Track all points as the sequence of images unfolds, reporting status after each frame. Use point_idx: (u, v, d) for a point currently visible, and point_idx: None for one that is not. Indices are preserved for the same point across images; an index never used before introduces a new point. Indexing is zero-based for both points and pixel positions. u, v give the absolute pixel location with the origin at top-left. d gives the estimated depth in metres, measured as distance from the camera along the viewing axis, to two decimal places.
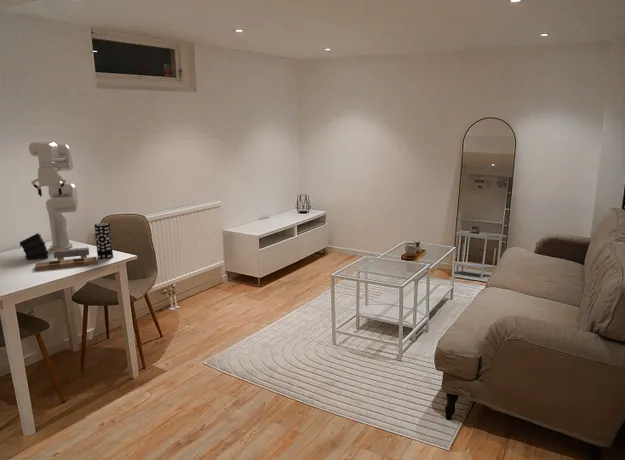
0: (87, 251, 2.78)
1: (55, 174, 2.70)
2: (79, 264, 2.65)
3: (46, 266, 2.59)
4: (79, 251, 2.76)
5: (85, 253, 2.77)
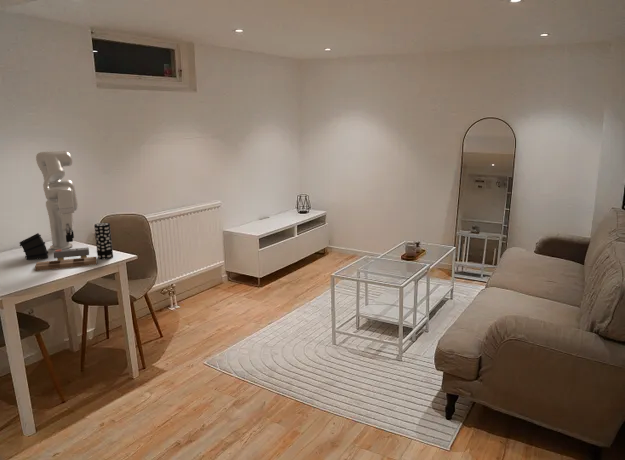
0: (87, 251, 2.78)
1: None
2: (79, 264, 2.65)
3: (46, 266, 2.59)
4: (79, 251, 2.76)
5: (85, 253, 2.77)
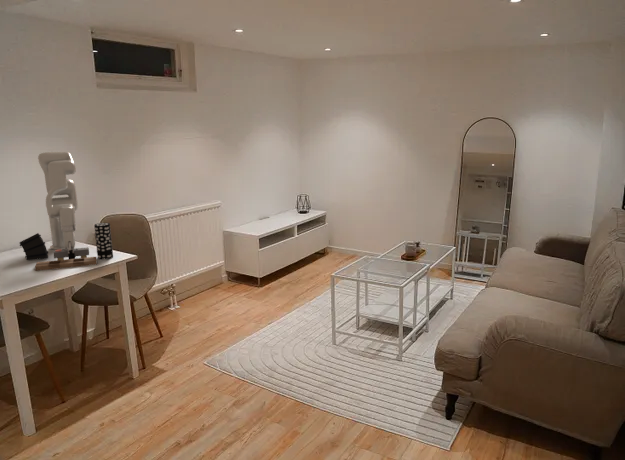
0: (87, 251, 2.78)
1: None
2: (79, 264, 2.65)
3: (46, 266, 2.59)
4: (79, 251, 2.76)
5: (85, 253, 2.77)
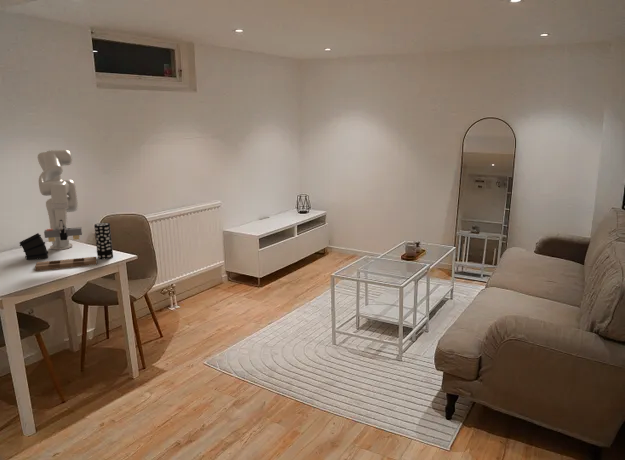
0: (80, 231, 2.64)
1: None
2: (79, 264, 2.65)
3: (46, 266, 2.59)
4: (71, 230, 2.62)
5: (78, 233, 2.64)
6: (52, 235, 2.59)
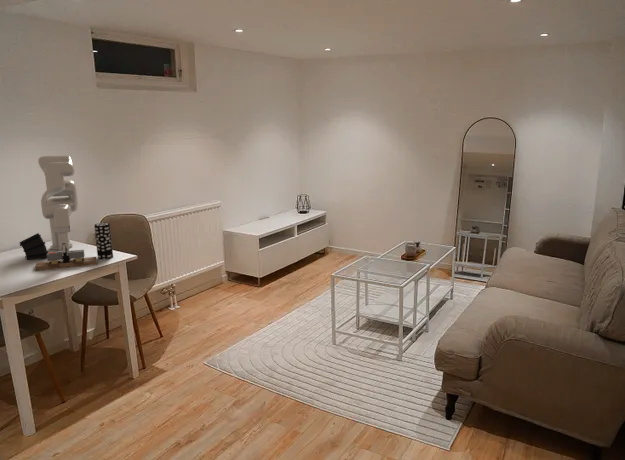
0: (82, 253, 2.66)
1: None
2: (79, 264, 2.65)
3: (46, 266, 2.59)
4: (74, 253, 2.65)
5: (80, 255, 2.66)
6: (55, 258, 2.62)
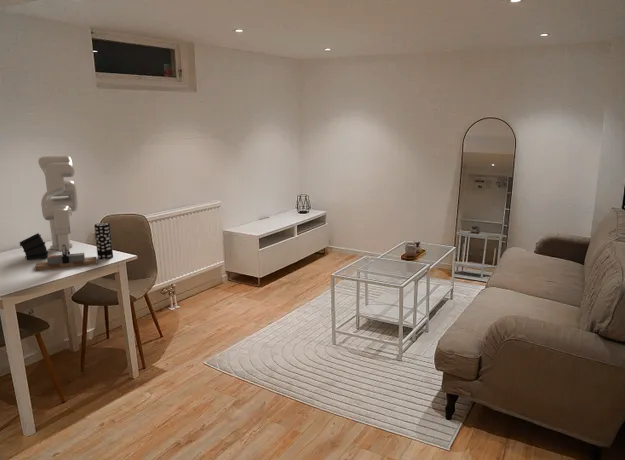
0: (82, 257, 2.67)
1: None
2: (79, 264, 2.65)
3: (46, 266, 2.59)
4: (74, 257, 2.65)
5: (80, 259, 2.66)
6: (55, 261, 2.62)
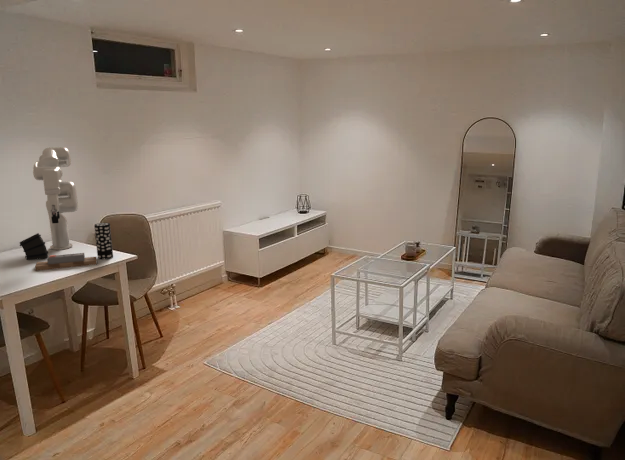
0: (82, 257, 2.67)
1: None
2: (79, 264, 2.65)
3: (46, 266, 2.59)
4: (74, 257, 2.65)
5: (80, 259, 2.66)
6: (55, 261, 2.62)
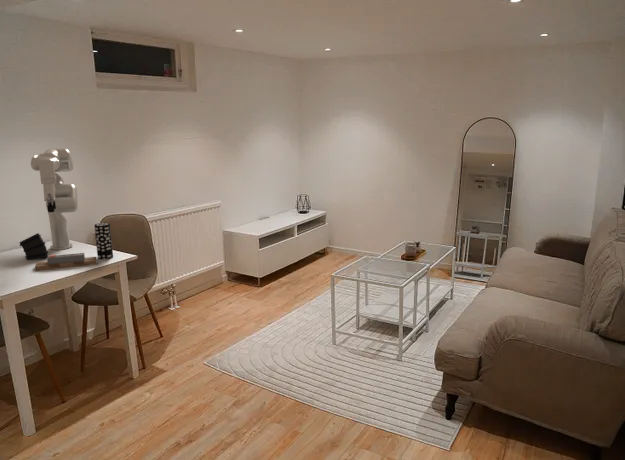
0: (82, 257, 2.67)
1: None
2: (79, 264, 2.65)
3: (46, 266, 2.59)
4: (74, 257, 2.65)
5: (80, 259, 2.66)
6: (55, 261, 2.62)
